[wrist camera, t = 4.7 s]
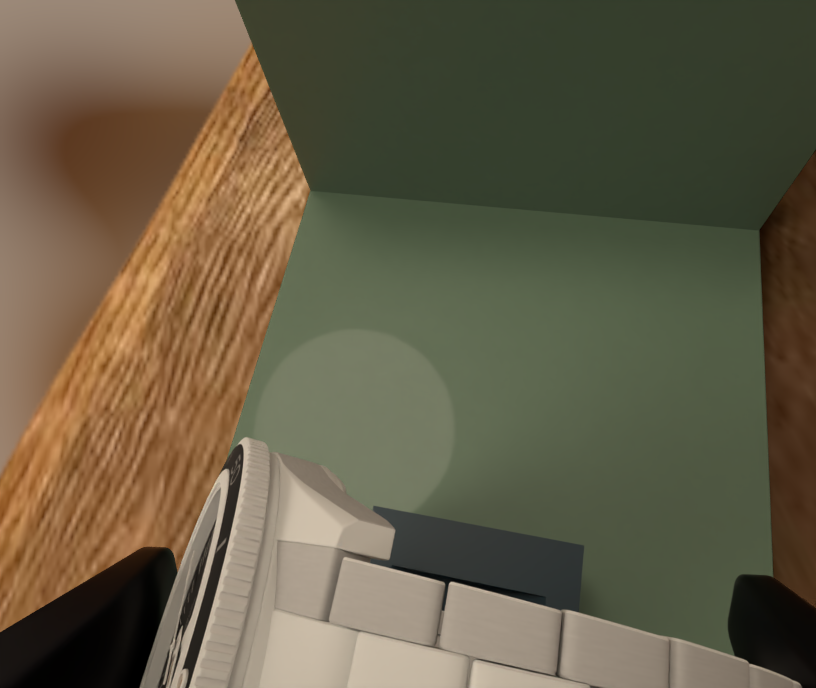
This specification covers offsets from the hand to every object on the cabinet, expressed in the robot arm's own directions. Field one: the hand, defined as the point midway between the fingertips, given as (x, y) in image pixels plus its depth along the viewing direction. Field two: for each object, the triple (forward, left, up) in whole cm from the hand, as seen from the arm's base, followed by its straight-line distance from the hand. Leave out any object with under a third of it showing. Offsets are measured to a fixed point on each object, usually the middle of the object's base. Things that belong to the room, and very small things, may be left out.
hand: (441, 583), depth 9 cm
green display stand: (+4, 0, -7) cm, 8 cm away
